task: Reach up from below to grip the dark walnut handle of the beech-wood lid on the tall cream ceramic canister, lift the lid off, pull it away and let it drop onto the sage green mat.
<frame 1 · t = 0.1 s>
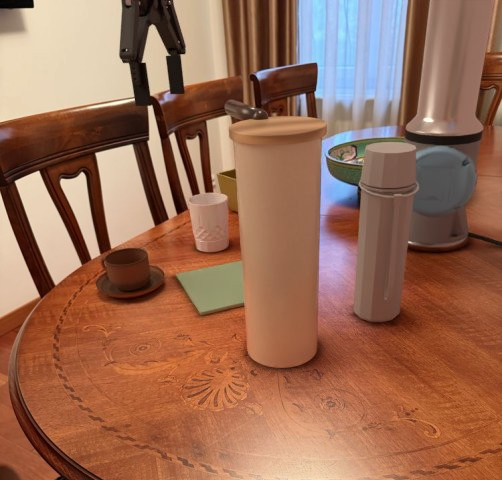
hand: (161, 99, 94), 28 cm above the table, tool pointing down, fingers open, 13 cm apart
flower pot: (243, 210, 126), on the table
lid: (277, 134, 59), point 29 cm above the table, touching canister
water bottle: (377, 317, 80), on the table
white cup: (212, 247, 107), on the table
canister: (281, 347, 74), on the table
mat: (231, 285, 92), on the table
cup and saucer: (132, 289, 93), on the table
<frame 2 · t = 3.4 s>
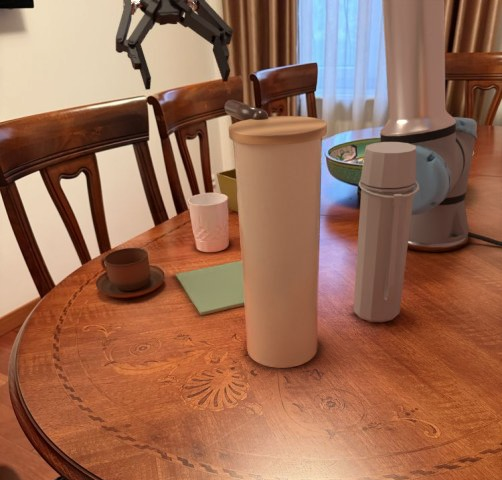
hand: (188, 80, 86), 32 cm above the table, tool tilted 45°, fingers open, 13 cm apart
nothing on the table moved.
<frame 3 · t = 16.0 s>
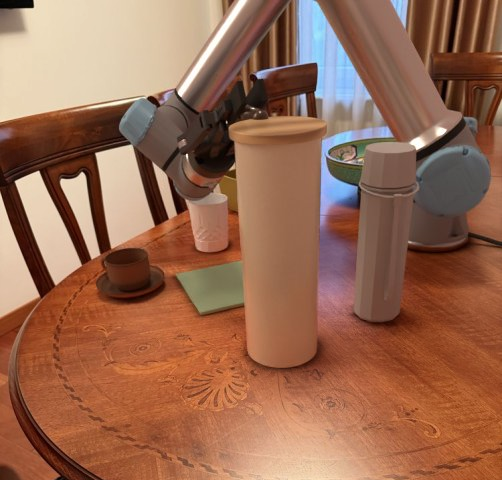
hand: (252, 91, 62), 33 cm above the table, tool pointing upward, fingers closed on lid, 2 cm apart
lid: (277, 134, 59), point 29 cm above the table, touching canister, gripper
everything else where it was.
when the fingers open (25 cm above the table, at t = 25.8 s): lid drops 20 cm, resting on mat.
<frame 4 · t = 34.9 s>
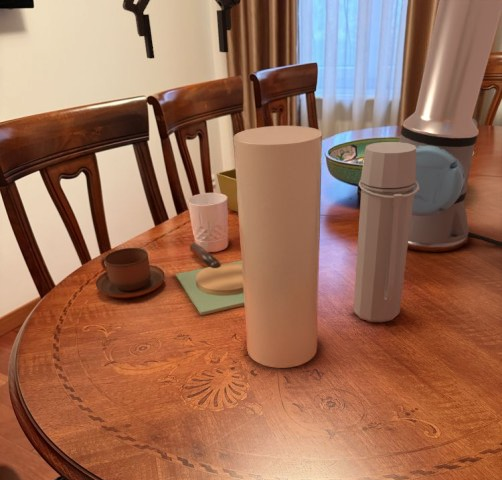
hand: (188, 55, 93), 35 cm above the table, tool pointing down, fingers open, 13 cm apart
lid: (227, 280, 92), point 1 cm above the table, touching mat
everything else where it was.
at the end: lid inside the target area on the mat (0.9 cm from its centre), point 0.6 cm above the mat's base; lid point 0.6 cm above the table; the gripper is holding nothing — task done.
